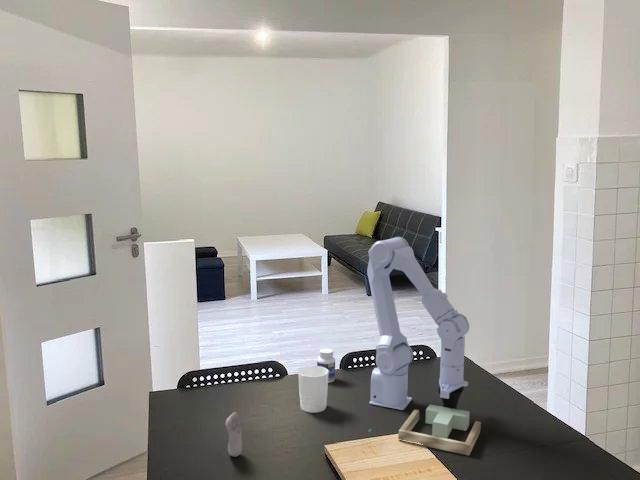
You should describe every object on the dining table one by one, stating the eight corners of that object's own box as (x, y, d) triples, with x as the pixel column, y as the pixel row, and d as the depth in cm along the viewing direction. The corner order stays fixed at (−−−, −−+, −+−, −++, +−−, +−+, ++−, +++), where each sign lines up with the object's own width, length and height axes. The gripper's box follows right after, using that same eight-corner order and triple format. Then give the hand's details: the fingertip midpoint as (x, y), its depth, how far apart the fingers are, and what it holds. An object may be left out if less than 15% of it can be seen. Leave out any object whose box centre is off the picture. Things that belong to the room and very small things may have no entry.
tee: (418, 433, 147) (419, 419, 146) (429, 417, 155) (429, 404, 155) (460, 441, 143) (461, 427, 142) (469, 425, 151) (469, 411, 151)
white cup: (325, 415, 157) (325, 377, 155) (295, 412, 158) (295, 375, 157) (330, 402, 164) (331, 366, 163) (302, 400, 166) (302, 364, 164)
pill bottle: (330, 384, 177) (330, 354, 176) (314, 381, 179) (314, 352, 178) (337, 378, 182) (338, 349, 180) (321, 375, 184) (321, 346, 182)
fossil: (227, 448, 139) (226, 406, 138) (242, 448, 139) (242, 406, 138) (225, 461, 133) (224, 418, 132) (241, 461, 134) (241, 417, 132)
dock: (398, 440, 143) (398, 430, 143) (414, 418, 155) (414, 409, 155) (469, 455, 136) (469, 445, 136) (480, 431, 148) (480, 421, 148)
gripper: (462, 375, 144) (459, 430, 146) (474, 356, 157) (472, 407, 159) (432, 371, 147) (430, 424, 149) (446, 352, 160) (444, 402, 162)
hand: (450, 415), depth 154 cm, fingers closed
